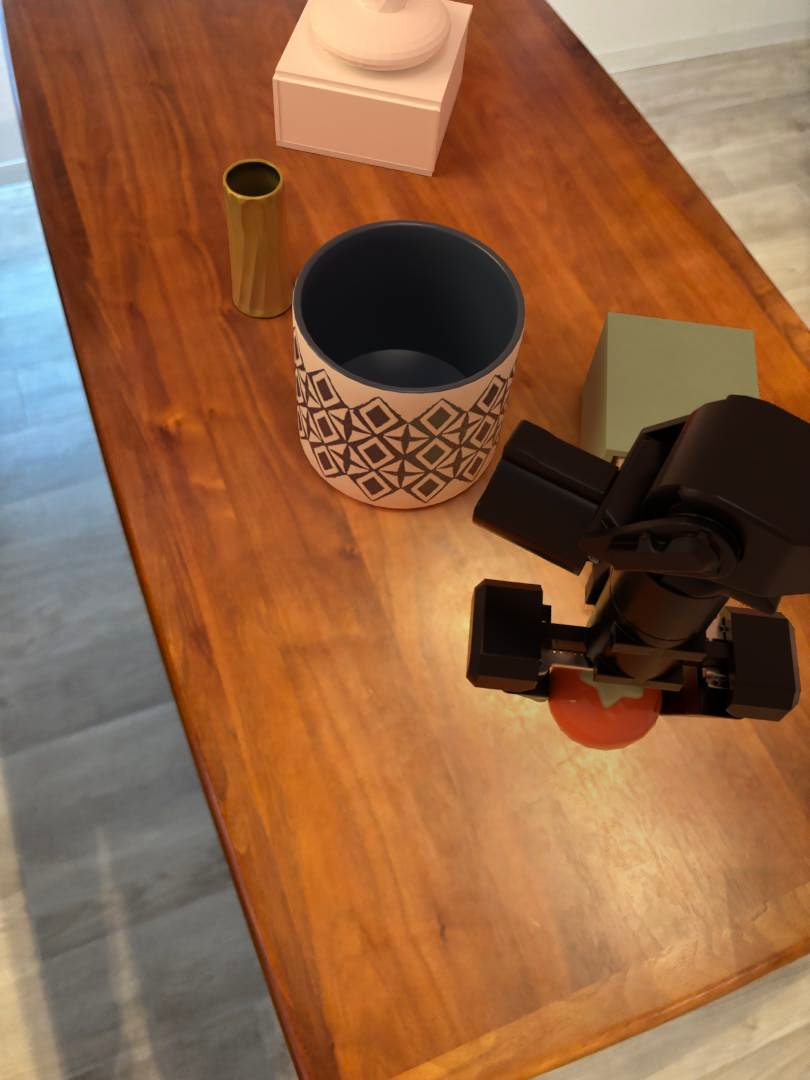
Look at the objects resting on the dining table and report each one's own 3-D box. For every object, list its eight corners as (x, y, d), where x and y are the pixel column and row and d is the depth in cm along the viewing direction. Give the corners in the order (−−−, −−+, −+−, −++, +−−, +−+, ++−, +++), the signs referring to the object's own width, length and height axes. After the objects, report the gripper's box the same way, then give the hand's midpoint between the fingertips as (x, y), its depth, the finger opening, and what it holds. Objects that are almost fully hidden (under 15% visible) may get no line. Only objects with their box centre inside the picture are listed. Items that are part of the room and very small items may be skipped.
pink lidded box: (276, 146, 110) (267, 6, 96) (319, 49, 119) (317, -91, 106) (432, 177, 109) (446, 40, 95) (464, 77, 118) (480, -61, 104)
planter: (294, 354, 95) (287, 219, 81) (483, 349, 97) (509, 216, 83) (302, 517, 86) (295, 398, 72) (510, 508, 88) (544, 389, 74)
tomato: (653, 767, 66) (690, 724, 59) (540, 766, 65) (564, 722, 58) (639, 662, 69) (672, 611, 63) (532, 660, 69) (553, 608, 62)
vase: (224, 282, 100) (208, 163, 87) (282, 267, 101) (275, 147, 89) (244, 326, 97) (230, 209, 85) (303, 309, 98) (299, 192, 86)
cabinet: (721, 537, 88) (765, 469, 79) (578, 519, 88) (606, 448, 79) (713, 406, 95) (754, 329, 86) (582, 389, 95) (607, 311, 86)
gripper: (825, 482, 56) (732, 608, 70) (494, 445, 56) (464, 577, 70) (851, 665, 51) (744, 763, 64) (482, 623, 51) (452, 730, 64)
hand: (598, 701), depth 66 cm, fingers closed on tomato, 7 cm apart
